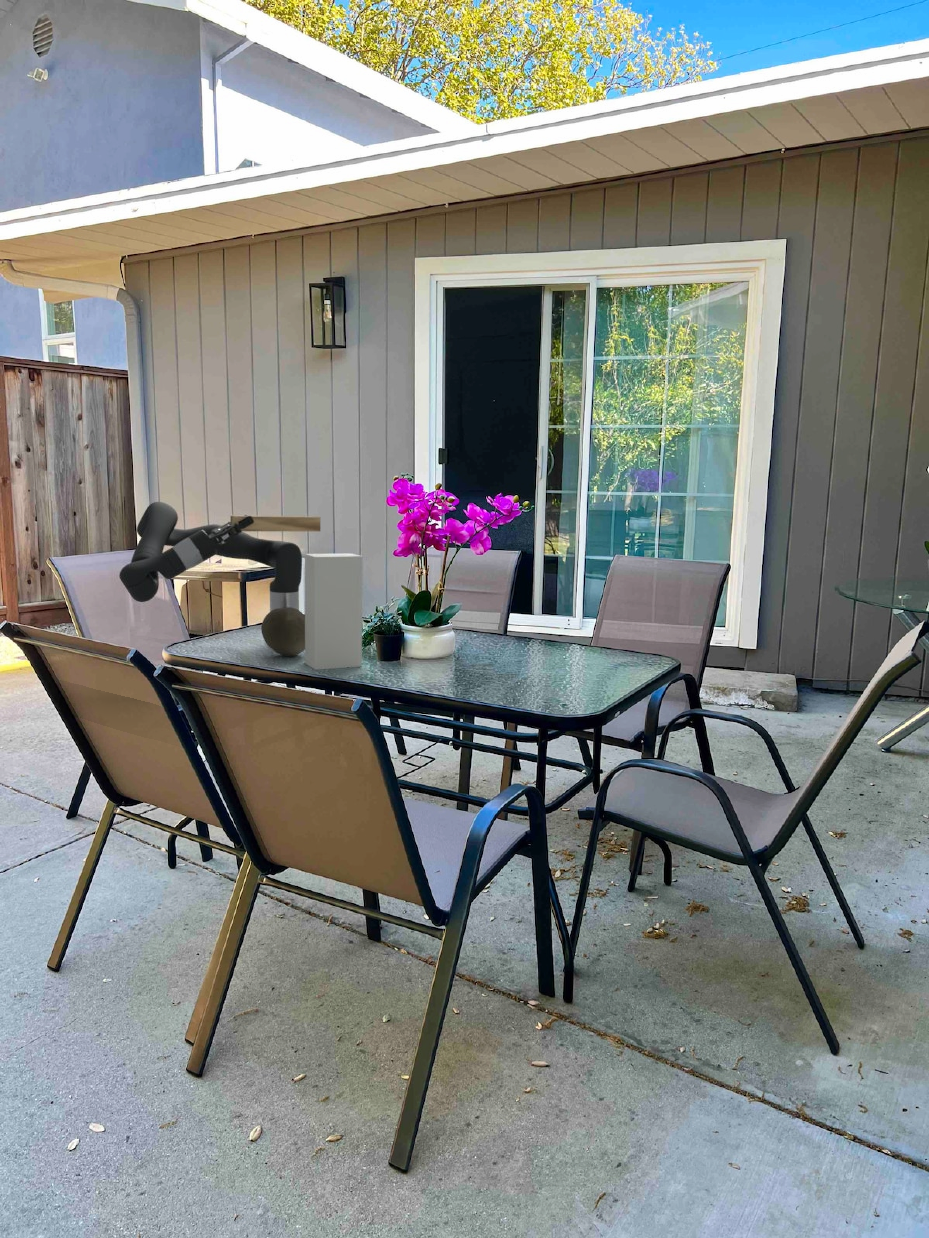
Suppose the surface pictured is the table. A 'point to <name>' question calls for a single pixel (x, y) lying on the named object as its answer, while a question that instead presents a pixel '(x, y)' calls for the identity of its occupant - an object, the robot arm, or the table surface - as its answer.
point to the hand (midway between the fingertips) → (250, 518)
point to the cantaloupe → (284, 631)
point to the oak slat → (280, 523)
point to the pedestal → (333, 610)
